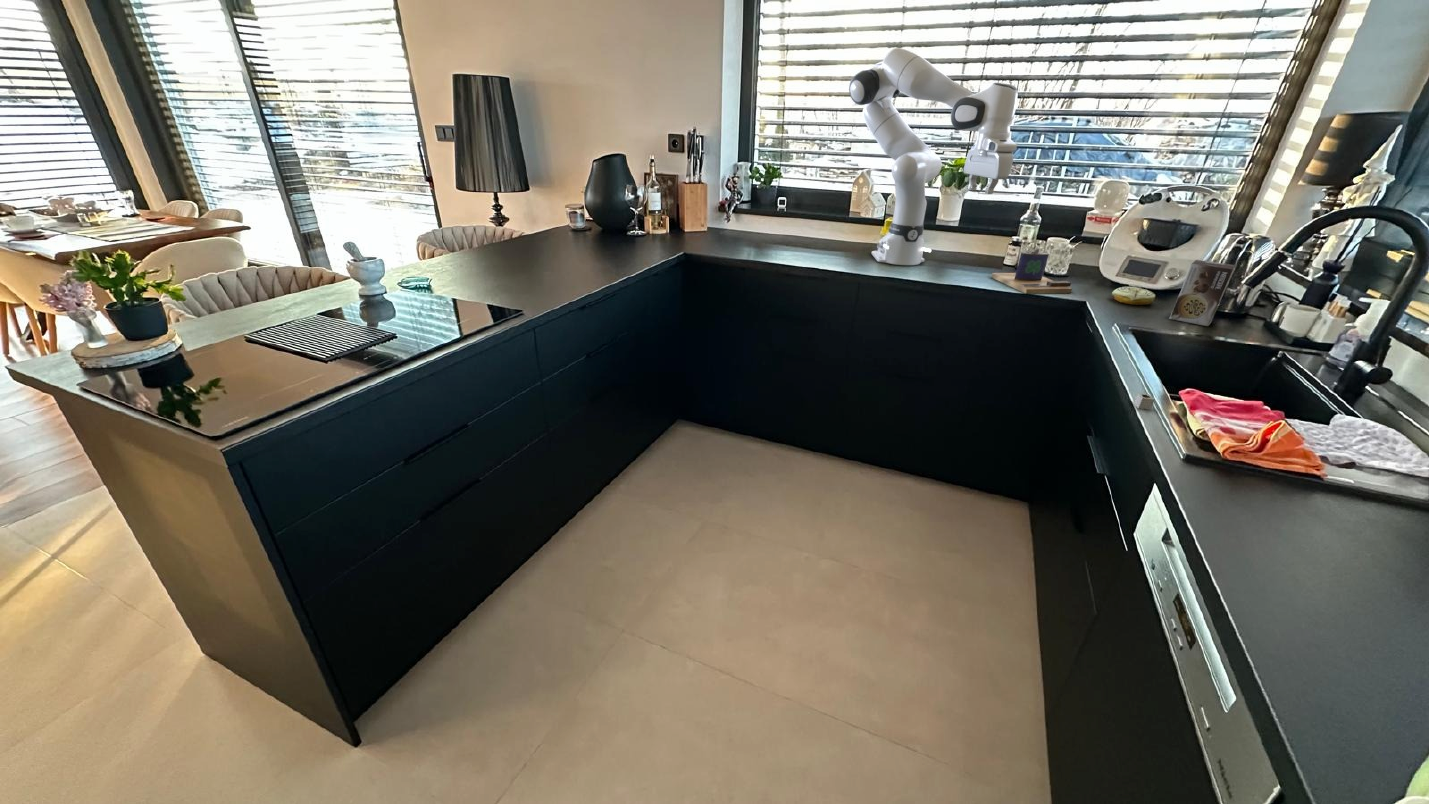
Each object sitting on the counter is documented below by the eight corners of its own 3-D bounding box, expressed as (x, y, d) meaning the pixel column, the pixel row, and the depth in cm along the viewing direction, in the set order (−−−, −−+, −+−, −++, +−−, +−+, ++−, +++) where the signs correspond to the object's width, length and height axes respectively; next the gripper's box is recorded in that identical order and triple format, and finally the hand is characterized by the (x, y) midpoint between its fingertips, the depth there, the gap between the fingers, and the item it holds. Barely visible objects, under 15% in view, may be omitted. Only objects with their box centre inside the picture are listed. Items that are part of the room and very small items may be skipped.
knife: (1020, 285, 182) (1022, 281, 182) (1065, 284, 184) (1066, 280, 184) (1025, 286, 180) (1026, 283, 180) (1070, 286, 182) (1071, 282, 182)
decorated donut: (1102, 297, 177) (1107, 286, 175) (1128, 295, 179) (1132, 284, 178) (1133, 307, 168) (1137, 295, 166) (1159, 305, 170) (1164, 293, 169)
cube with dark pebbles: (1138, 408, 108) (1142, 396, 107) (1133, 403, 110) (1138, 392, 109) (1150, 409, 108) (1155, 398, 107) (1145, 404, 110) (1150, 393, 109)
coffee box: (1211, 322, 157) (1237, 265, 150) (1208, 327, 153) (1234, 268, 146) (1172, 314, 163) (1195, 258, 155) (1168, 318, 159) (1191, 262, 151)
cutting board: (990, 277, 196) (991, 273, 196) (1032, 276, 198) (1033, 272, 198) (1025, 293, 179) (1026, 289, 178) (1070, 292, 181) (1072, 288, 180)
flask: (1039, 278, 190) (1048, 247, 185) (1043, 281, 188) (1053, 248, 183) (1012, 278, 190) (1021, 246, 185) (1016, 280, 187) (1025, 248, 182)
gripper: (964, 142, 178) (954, 187, 185) (1000, 145, 160) (988, 196, 167) (982, 142, 179) (972, 188, 186) (1020, 145, 161) (1008, 196, 168)
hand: (980, 191), depth 176 cm, fingers open, 8 cm apart
